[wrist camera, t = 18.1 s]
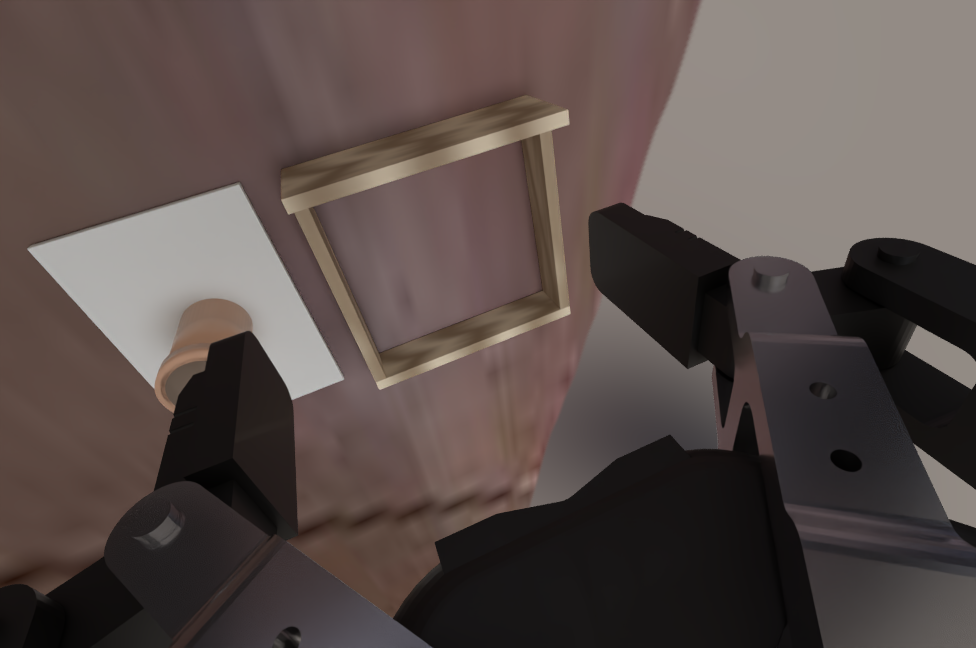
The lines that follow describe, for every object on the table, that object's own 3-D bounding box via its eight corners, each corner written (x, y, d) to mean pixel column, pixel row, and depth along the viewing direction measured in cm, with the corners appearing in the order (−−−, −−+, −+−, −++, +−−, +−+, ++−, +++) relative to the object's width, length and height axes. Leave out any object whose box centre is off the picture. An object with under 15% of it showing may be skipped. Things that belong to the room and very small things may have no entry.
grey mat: (198, 431, 44) (197, 436, 43) (30, 245, 31) (26, 248, 31) (343, 375, 46) (344, 379, 46) (239, 181, 34) (239, 184, 33)
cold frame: (372, 364, 46) (385, 411, 41) (280, 169, 34) (281, 199, 29) (552, 294, 50) (585, 329, 44) (526, 94, 38) (568, 109, 32)
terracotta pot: (203, 365, 40) (189, 432, 33) (158, 312, 36) (132, 376, 30) (270, 338, 40) (268, 398, 34) (232, 284, 37) (222, 341, 31)
